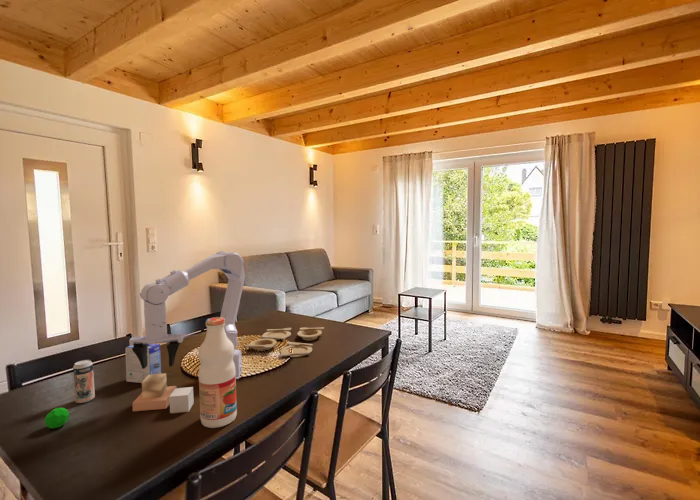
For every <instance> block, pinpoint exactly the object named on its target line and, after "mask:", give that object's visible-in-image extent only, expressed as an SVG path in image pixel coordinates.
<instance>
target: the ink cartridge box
mask: <svg viewBox="0 0 700 500" xmlns="http://www.w3.org/2000/svg"><path fill="white" fill-rule="evenodd" d="M133 346H134V345H133ZM133 346H130V345H128V346H126V347H125V374H126V375H125V377H126V378H125V381H126V382H127V383H129V382H130V383H140V384H142V381H143V380H144V379H145V378H146V377H147V376H148V375H153V374H162V364H161V363H162V360H161V343H155V344H148V345H147V362H148V363H147V367H146V368H145V369H142V366H141V363H140V361H139V359H138V357H137V356H136V354H135V353H134V352H133V351H132V348H133Z"/></svg>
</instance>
